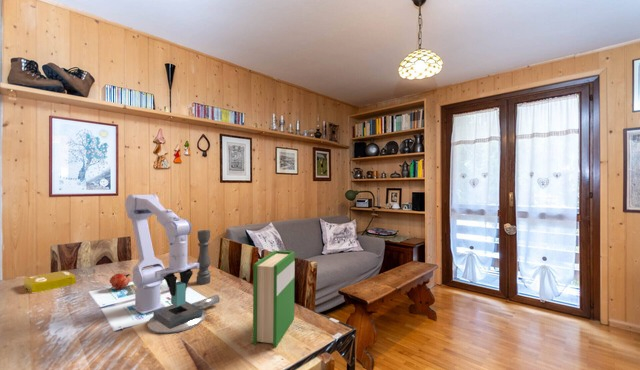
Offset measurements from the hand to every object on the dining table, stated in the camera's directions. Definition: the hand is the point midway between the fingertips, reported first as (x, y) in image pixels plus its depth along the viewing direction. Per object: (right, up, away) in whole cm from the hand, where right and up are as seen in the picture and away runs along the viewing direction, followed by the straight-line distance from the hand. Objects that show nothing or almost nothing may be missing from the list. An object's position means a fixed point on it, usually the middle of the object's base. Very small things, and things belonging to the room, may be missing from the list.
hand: (178, 293), depth 97 cm
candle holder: (-7, -10, +38) cm, 39 cm away
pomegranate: (-41, -9, +28) cm, 51 cm away
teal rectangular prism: (0, -4, 0) cm, 4 cm away
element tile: (-76, -10, +33) cm, 84 cm away
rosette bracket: (+2, -9, +3) cm, 10 cm away
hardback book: (+35, -10, -6) cm, 37 cm away
